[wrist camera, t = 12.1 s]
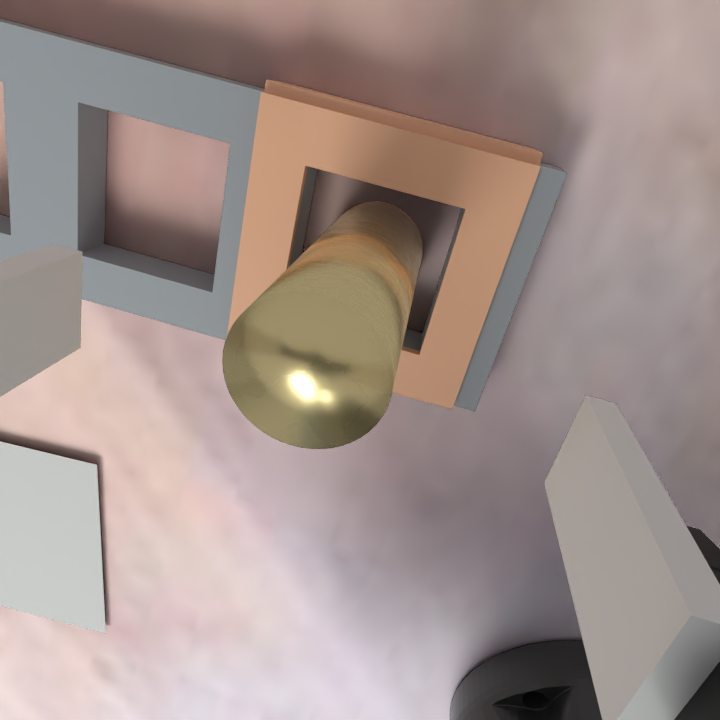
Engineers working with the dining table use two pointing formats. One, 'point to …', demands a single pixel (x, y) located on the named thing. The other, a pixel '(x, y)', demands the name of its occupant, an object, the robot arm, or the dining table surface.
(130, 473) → the dining table surface
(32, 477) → the paper stack
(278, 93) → the hole plate
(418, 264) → the brass peg
